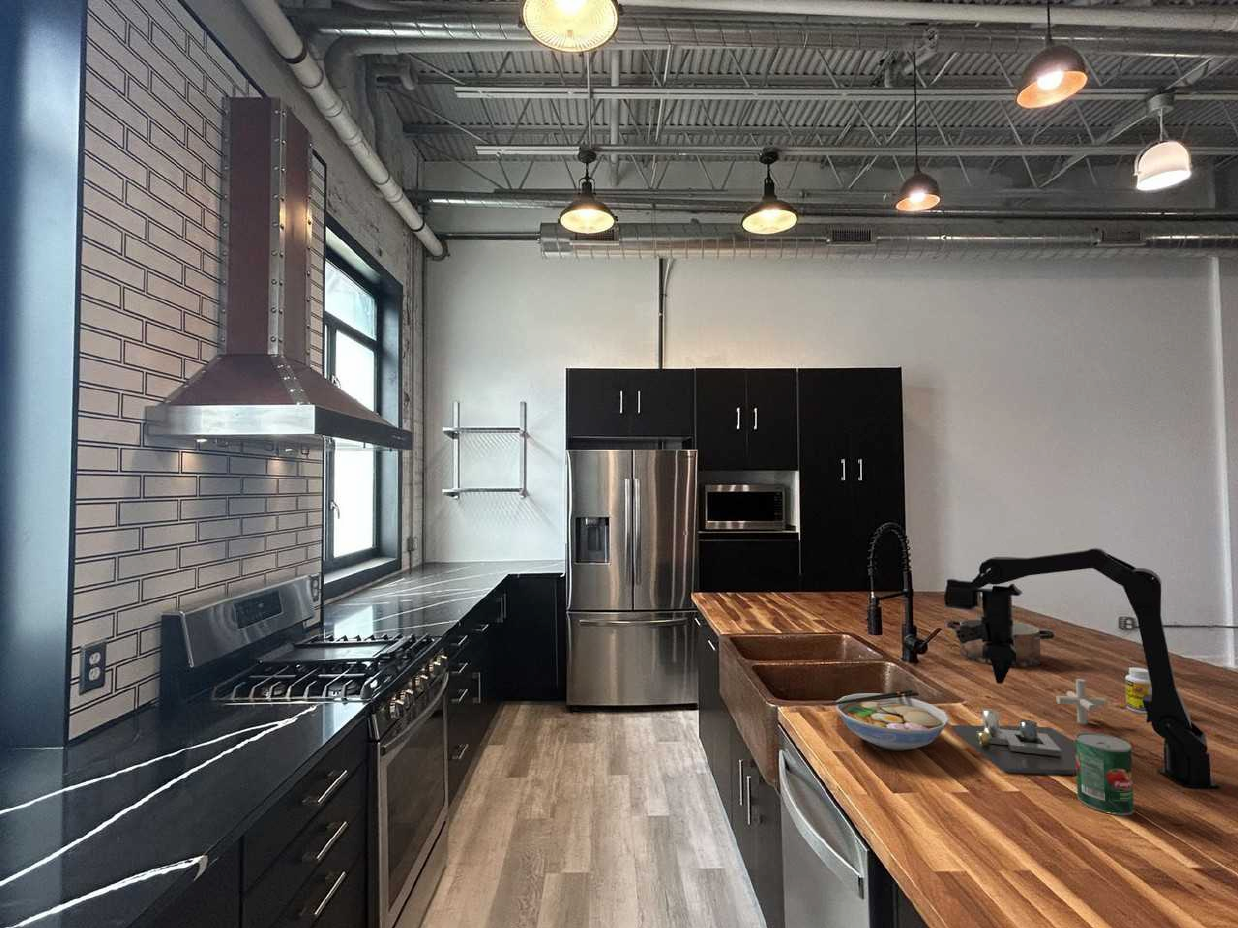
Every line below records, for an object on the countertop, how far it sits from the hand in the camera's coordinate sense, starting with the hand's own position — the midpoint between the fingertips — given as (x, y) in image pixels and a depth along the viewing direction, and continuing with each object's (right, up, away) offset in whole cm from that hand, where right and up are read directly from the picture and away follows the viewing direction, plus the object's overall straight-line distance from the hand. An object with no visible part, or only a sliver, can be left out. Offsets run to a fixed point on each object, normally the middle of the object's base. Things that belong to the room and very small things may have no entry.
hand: (999, 683), depth 137 cm
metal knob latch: (-1, -10, -7) cm, 13 cm away
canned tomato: (0, -11, -30) cm, 32 cm away
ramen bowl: (-26, -12, -4) cm, 29 cm away
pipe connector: (+25, -12, +8) cm, 29 cm away
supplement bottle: (+45, -13, +15) cm, 49 cm away
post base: (+2, -12, -8) cm, 14 cm away
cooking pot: (+40, -15, +63) cm, 76 cm away
